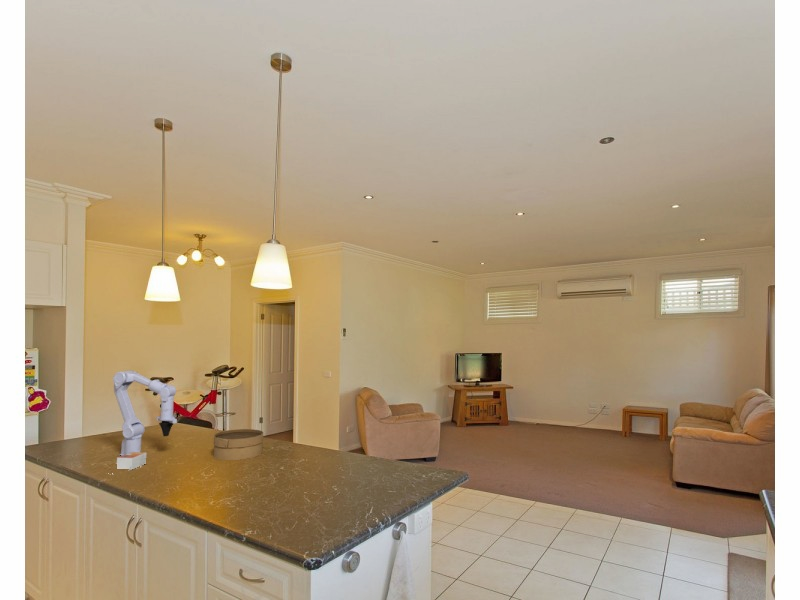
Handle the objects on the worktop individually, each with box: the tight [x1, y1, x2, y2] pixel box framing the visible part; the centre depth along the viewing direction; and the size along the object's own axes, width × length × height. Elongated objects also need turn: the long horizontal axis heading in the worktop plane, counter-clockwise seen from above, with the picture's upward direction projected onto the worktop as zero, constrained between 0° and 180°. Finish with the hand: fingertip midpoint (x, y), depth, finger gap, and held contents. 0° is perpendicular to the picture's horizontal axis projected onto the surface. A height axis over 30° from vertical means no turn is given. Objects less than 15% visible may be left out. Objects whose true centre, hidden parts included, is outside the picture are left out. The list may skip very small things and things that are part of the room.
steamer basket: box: [213, 428, 264, 461], centre depth 248 cm, size 25×25×11 cm
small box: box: [116, 452, 147, 471], centre depth 224 cm, size 8×6×10 cm
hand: (165, 436), depth 244 cm, fingers closed
